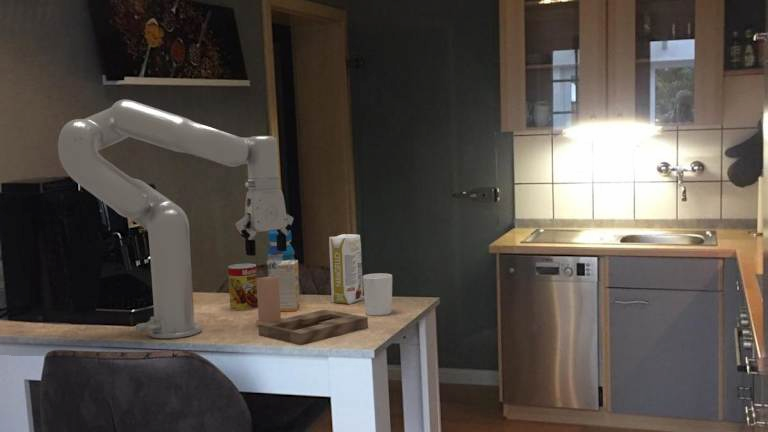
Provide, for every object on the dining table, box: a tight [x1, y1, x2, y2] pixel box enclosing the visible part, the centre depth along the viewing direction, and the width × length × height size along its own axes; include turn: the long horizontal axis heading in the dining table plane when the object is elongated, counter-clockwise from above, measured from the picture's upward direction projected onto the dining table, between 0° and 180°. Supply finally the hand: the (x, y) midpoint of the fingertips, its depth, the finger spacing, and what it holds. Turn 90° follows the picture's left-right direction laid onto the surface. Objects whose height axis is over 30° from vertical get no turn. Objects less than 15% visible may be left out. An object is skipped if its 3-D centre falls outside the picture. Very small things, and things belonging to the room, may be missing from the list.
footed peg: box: [255, 276, 284, 328], centre depth 208 cm, size 7×7×12 cm
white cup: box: [362, 272, 393, 316], centre depth 217 cm, size 8×8×10 cm
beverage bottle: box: [266, 229, 296, 278], centre depth 244 cm, size 8×8×20 cm
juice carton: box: [328, 233, 364, 305], centre depth 234 cm, size 8×9×19 cm
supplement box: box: [278, 259, 301, 312], centre depth 227 cm, size 8×5×13 cm, turn 179°
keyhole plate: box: [258, 309, 369, 346], centre depth 199 cm, size 21×16×3 cm
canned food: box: [227, 263, 258, 312], centre depth 231 cm, size 8×8×12 cm
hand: (266, 253), depth 207 cm, fingers open, 9 cm apart
